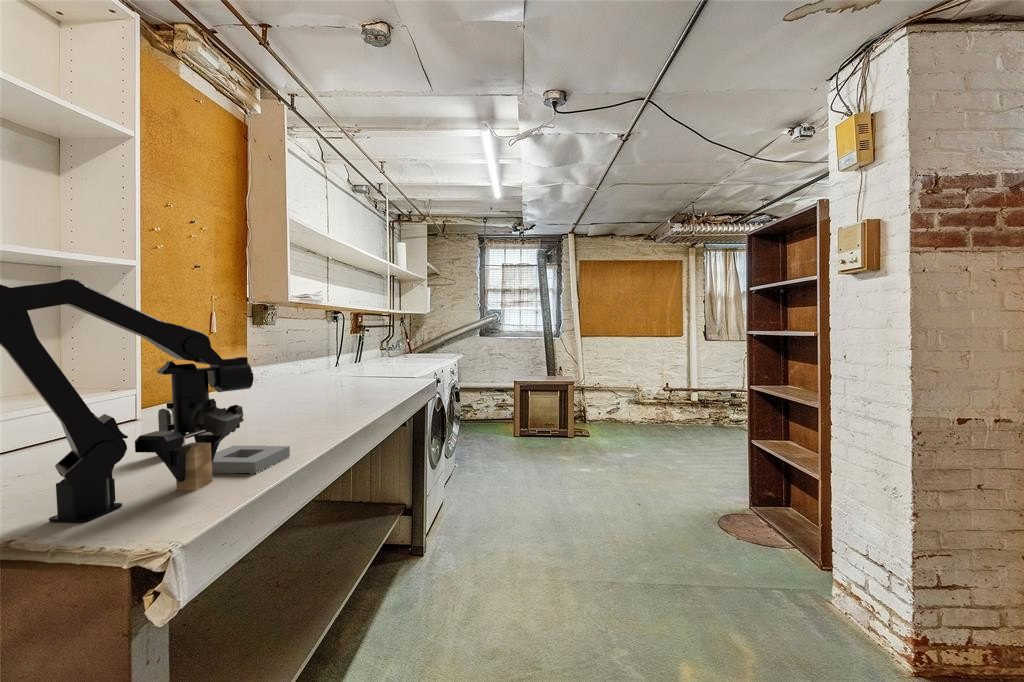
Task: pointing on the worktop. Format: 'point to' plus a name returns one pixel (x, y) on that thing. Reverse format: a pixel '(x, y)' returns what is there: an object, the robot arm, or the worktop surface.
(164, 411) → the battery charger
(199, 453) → the wood grain block
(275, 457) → the socket plate
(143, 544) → the worktop surface
